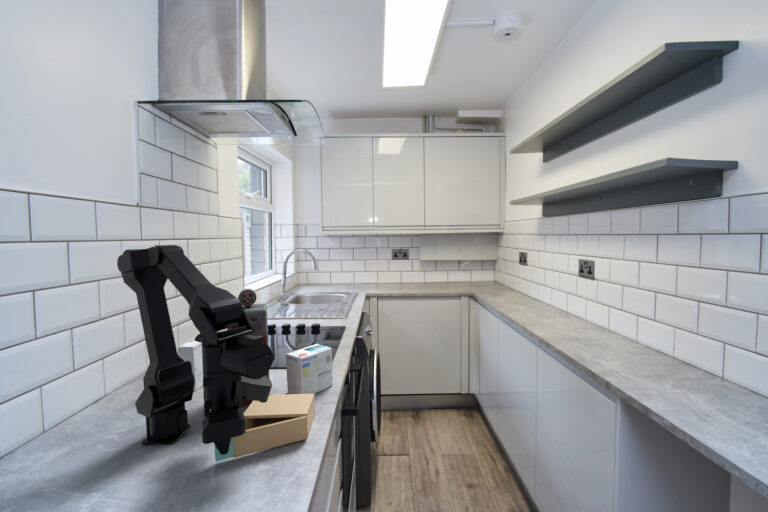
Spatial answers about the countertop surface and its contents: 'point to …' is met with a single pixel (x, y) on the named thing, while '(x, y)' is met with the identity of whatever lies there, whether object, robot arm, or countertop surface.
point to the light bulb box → (309, 369)
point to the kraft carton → (280, 410)
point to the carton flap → (265, 438)
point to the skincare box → (193, 360)
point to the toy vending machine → (254, 321)
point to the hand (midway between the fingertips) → (224, 451)
